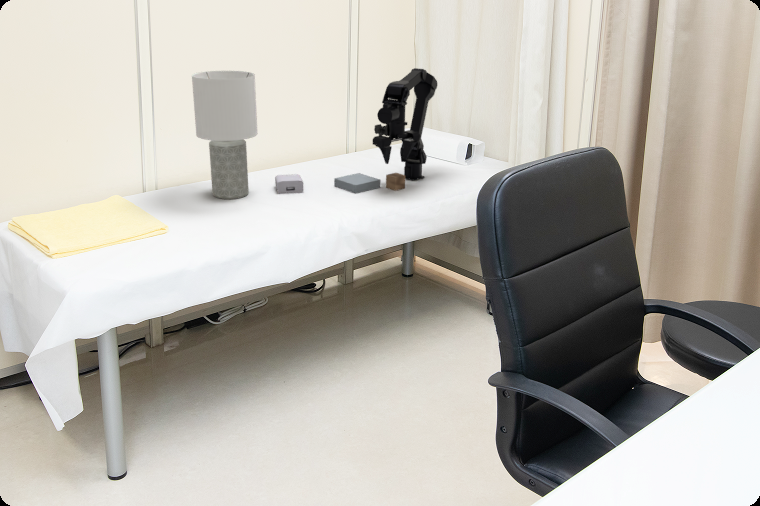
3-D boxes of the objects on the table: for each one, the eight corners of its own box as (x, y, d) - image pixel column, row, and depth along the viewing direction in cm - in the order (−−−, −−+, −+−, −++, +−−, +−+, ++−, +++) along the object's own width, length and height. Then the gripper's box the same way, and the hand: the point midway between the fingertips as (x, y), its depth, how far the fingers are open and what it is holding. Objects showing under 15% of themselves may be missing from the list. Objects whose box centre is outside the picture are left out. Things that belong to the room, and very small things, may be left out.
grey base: (359, 180, 281) (359, 172, 280) (380, 187, 273) (380, 179, 272) (334, 186, 274) (334, 178, 273) (355, 193, 266) (355, 185, 265)
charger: (298, 181, 279) (303, 193, 266) (274, 182, 278) (277, 194, 264) (298, 169, 278) (303, 180, 264) (273, 170, 276) (277, 181, 262)
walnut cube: (395, 185, 276) (396, 172, 274) (405, 188, 273) (405, 175, 271) (385, 187, 273) (386, 174, 271) (395, 190, 270) (395, 177, 268)
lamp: (238, 183, 276) (232, 69, 261) (271, 195, 262) (267, 75, 247) (189, 193, 262) (179, 74, 247) (222, 206, 249) (214, 81, 234)
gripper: (400, 112, 275) (399, 153, 281) (362, 118, 263) (362, 161, 269) (421, 117, 267) (420, 159, 273) (383, 123, 256) (382, 167, 261)
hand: (396, 161), depth 269 cm, fingers open, 9 cm apart
